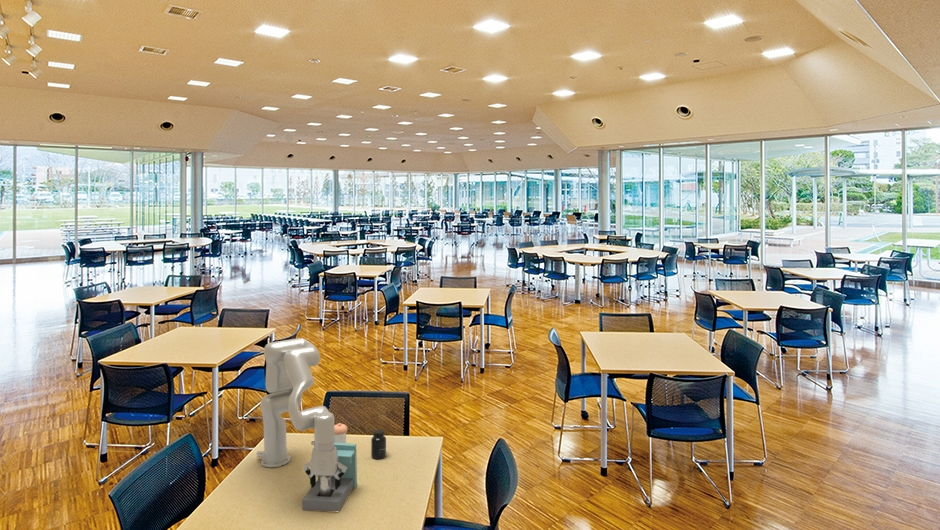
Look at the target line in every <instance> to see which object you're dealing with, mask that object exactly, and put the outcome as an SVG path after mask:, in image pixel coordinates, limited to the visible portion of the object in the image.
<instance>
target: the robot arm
mask: <svg viewBox="0 0 940 530" xmlns="http://www.w3.org/2000/svg"><path fill="white" fill-rule="evenodd" d="M263 355H264V359H265V363H266V364H265V365H266V367H265V383H264V384H265V390H266V392H268V393H269V394H266V395H265V396H263V397H262V398H261V399H260V410H261V416H262V422H263V446H264V447H263V449H264V450H257V452H256V458H262V459H261V461H260V463H261V466H263V467H265V468H270V469H271V468H277V467H283V466H285V465H286V464H288V463H290V461H291V455H290V454H288V448H287V444H288V443H287V441H288V440H287V422H286V420H285V419H284V418H283V417H282V415H281V414H284V413H287V412H288V413H289V417H290V421H291V423H292V425H293V427H294V429H295V430H296V431H298V432H299V431H300V432H302V431H306V430H309V429H313V431H314V433H313V435H314V438H313V439H314V440H311V442H310V445H312V446H313V447H312V450H311V455H310V462H306V463H305V464H304V465H302V469H303V470H304V472H305V474H306V475H307V476H308V478H309V485H310V489H311V488H313V487H314V486H315V484H316V481H317V479H316V477H317V476H318V475H322V476H335V478H336V479H335V489H338V487H339V486H340V485H341V477H342V476H343V475H344V473H345V472H346V470H347V467H346V466H344V465H343V464H341V463H339V459H338V452H337V448H336V447H335V432H334V425H335V416H334V413H332V412H330V410H329V409H328V408H327V406H324V405H319V406H313V407H310V408H306V409H303V410H300V406H301V403H302V397H303V395H302V394H303V393H304V392H305V391H307V390H308V389H309V388H311V387H312V386H313V384H314V383H315V380H314V379H315V378H314V377H313V373H312V371H311V368H310V367H313V366H317V365H319V363H320V362H321V354H320V352H319V350H318V348H317V347H316V346H315V344H313V343H312V342H310V341H308V340H307V339H305V338H302V337H298V338H292V339H284V340H280V341H273V342H268V343H267V344H265V346H264V349H263ZM282 465H283V466H282ZM339 468H340V469H342V472H341V473H340V472H339Z"/></svg>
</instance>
